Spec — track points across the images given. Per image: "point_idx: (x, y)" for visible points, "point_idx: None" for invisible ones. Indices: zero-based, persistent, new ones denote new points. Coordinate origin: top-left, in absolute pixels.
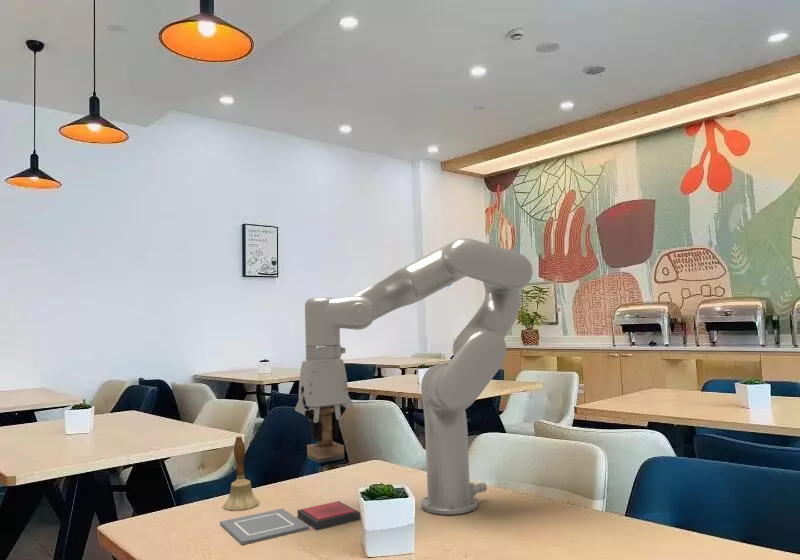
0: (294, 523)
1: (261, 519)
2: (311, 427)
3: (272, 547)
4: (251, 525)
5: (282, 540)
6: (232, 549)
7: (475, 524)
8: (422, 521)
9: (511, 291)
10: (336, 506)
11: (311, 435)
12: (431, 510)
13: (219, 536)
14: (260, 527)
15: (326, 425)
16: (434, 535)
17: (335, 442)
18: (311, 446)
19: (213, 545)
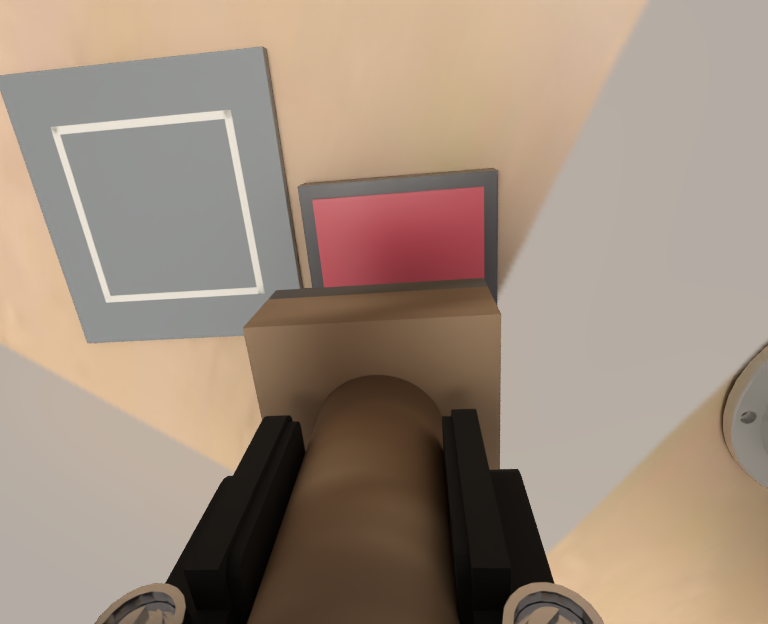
0: (267, 277)
1: (159, 156)
2: (192, 551)
3: (177, 401)
4: (119, 205)
5: (211, 369)
6: (68, 353)
7: (740, 558)
8: (644, 464)
9: None
10: (449, 252)
11: (227, 480)
12: (728, 436)
13: (18, 219)
14: (149, 248)
15: None
16: (590, 557)
17: (499, 386)
18: (262, 409)
19: (9, 290)
